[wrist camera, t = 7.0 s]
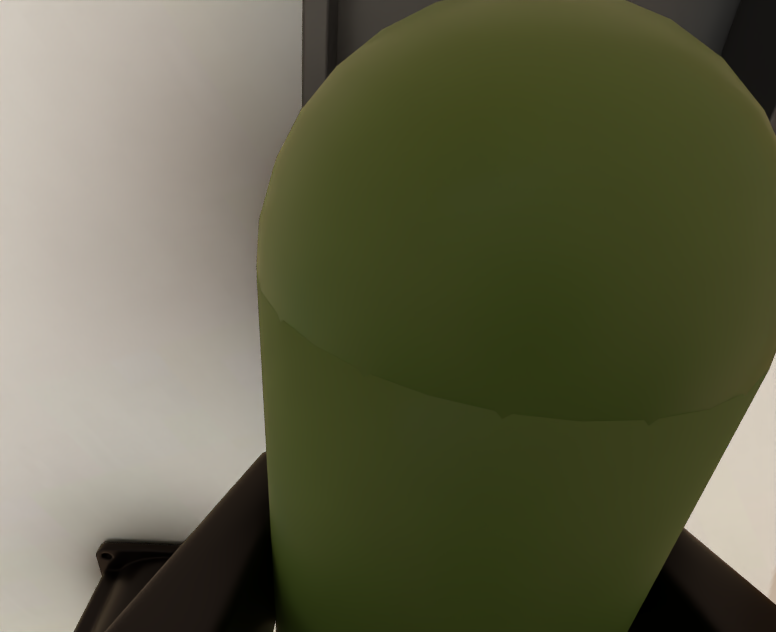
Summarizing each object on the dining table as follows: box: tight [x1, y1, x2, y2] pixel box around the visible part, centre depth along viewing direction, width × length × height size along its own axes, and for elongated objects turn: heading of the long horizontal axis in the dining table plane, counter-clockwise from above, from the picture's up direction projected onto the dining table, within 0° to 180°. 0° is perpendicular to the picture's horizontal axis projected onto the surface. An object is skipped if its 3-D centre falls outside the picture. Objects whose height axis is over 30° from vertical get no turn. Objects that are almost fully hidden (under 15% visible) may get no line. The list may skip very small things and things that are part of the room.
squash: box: [256, 0, 776, 632], centre depth 7 cm, size 4×12×4 cm, turn 176°
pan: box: [302, 0, 776, 135], centre depth 16 cm, size 12×22×3 cm, turn 175°
